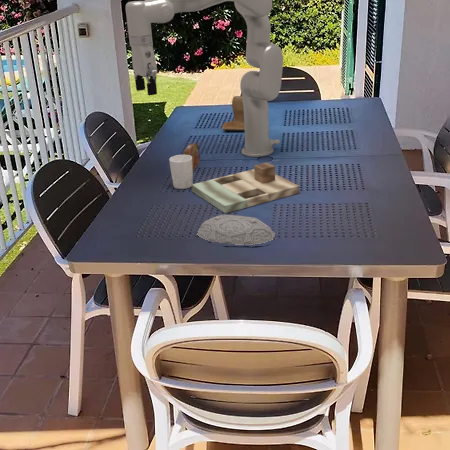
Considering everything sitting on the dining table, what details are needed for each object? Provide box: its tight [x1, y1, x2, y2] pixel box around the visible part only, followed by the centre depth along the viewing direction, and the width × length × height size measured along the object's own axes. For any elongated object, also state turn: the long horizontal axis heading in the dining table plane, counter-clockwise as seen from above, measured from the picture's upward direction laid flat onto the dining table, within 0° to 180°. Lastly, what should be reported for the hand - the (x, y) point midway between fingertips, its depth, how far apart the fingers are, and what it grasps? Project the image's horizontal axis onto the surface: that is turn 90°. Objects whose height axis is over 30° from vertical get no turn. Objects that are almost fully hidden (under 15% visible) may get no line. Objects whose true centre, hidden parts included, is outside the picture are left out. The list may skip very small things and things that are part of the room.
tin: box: [182, 142, 201, 172], centre depth 224 cm, size 15×3×8 cm, turn 168°
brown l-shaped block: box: [221, 95, 245, 132], centre depth 267 cm, size 15×12×15 cm
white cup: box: [168, 154, 194, 190], centre depth 207 cm, size 8×8×10 cm
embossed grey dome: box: [196, 214, 276, 245], centre depth 170 cm, size 16×25×7 cm, turn 70°
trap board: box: [191, 168, 300, 214], centre depth 200 cm, size 28×23×2 cm
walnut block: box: [253, 162, 276, 184], centre depth 202 cm, size 5×5×5 cm
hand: (146, 92), depth 206 cm, fingers open, 9 cm apart
